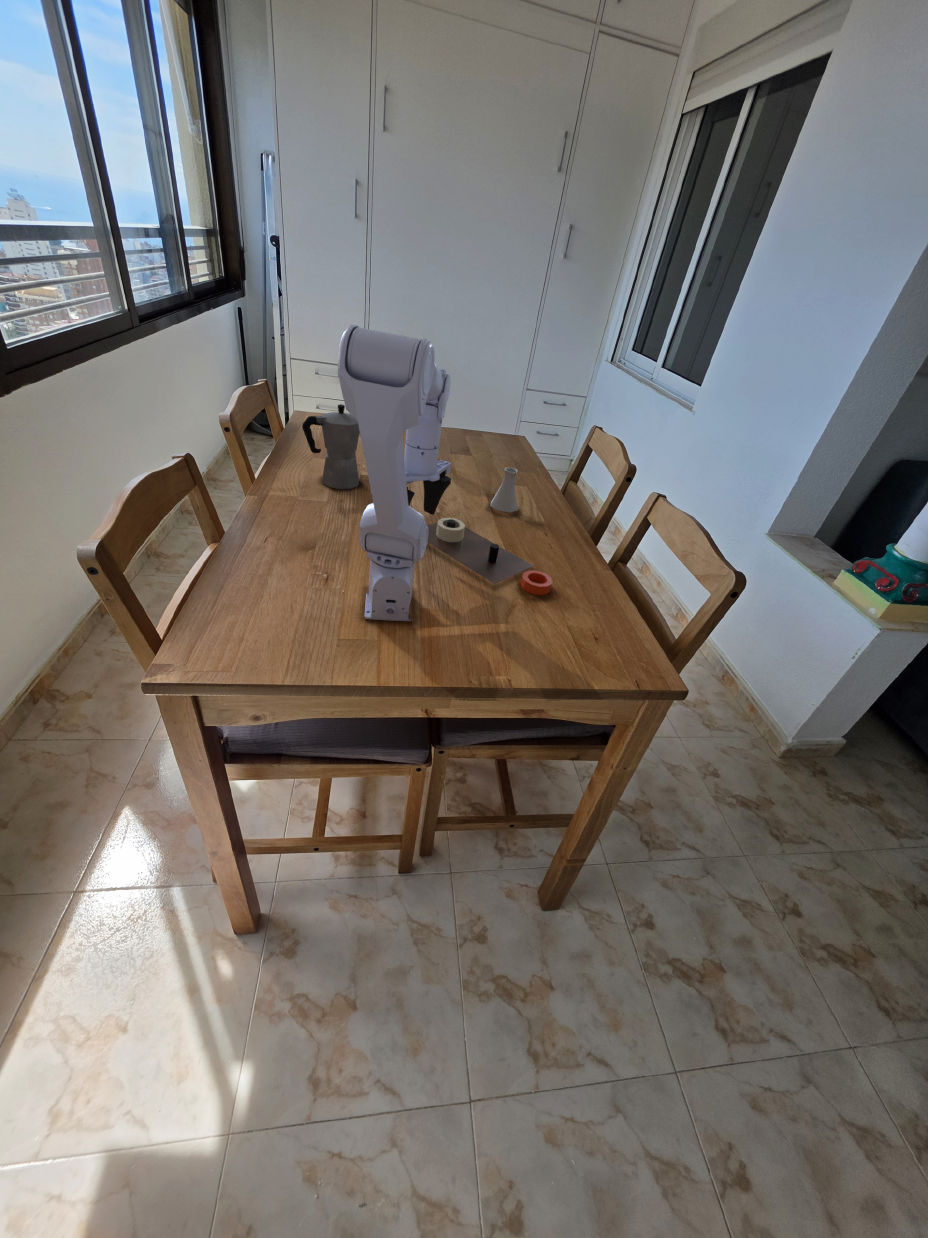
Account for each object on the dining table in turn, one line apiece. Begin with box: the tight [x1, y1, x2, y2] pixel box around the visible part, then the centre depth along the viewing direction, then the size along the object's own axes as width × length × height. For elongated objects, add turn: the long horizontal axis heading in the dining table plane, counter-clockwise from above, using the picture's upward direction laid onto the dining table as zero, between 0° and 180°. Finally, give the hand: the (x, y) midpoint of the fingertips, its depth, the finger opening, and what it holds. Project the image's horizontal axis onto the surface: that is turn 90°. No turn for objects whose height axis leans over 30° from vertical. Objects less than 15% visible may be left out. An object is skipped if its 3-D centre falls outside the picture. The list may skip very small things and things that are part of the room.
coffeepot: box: [301, 404, 360, 490], centre depth 123 cm, size 15×9×18 cm, turn 121°
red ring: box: [520, 569, 553, 596], centre depth 100 cm, size 6×6×3 cm
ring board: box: [426, 519, 534, 585], centre depth 108 cm, size 24×12×4 cm, turn 46°
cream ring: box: [436, 517, 466, 542], centre depth 111 cm, size 6×6×3 cm
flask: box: [489, 466, 519, 513], centre depth 126 cm, size 7×7×10 cm
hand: (415, 517), depth 97 cm, fingers open, 7 cm apart
